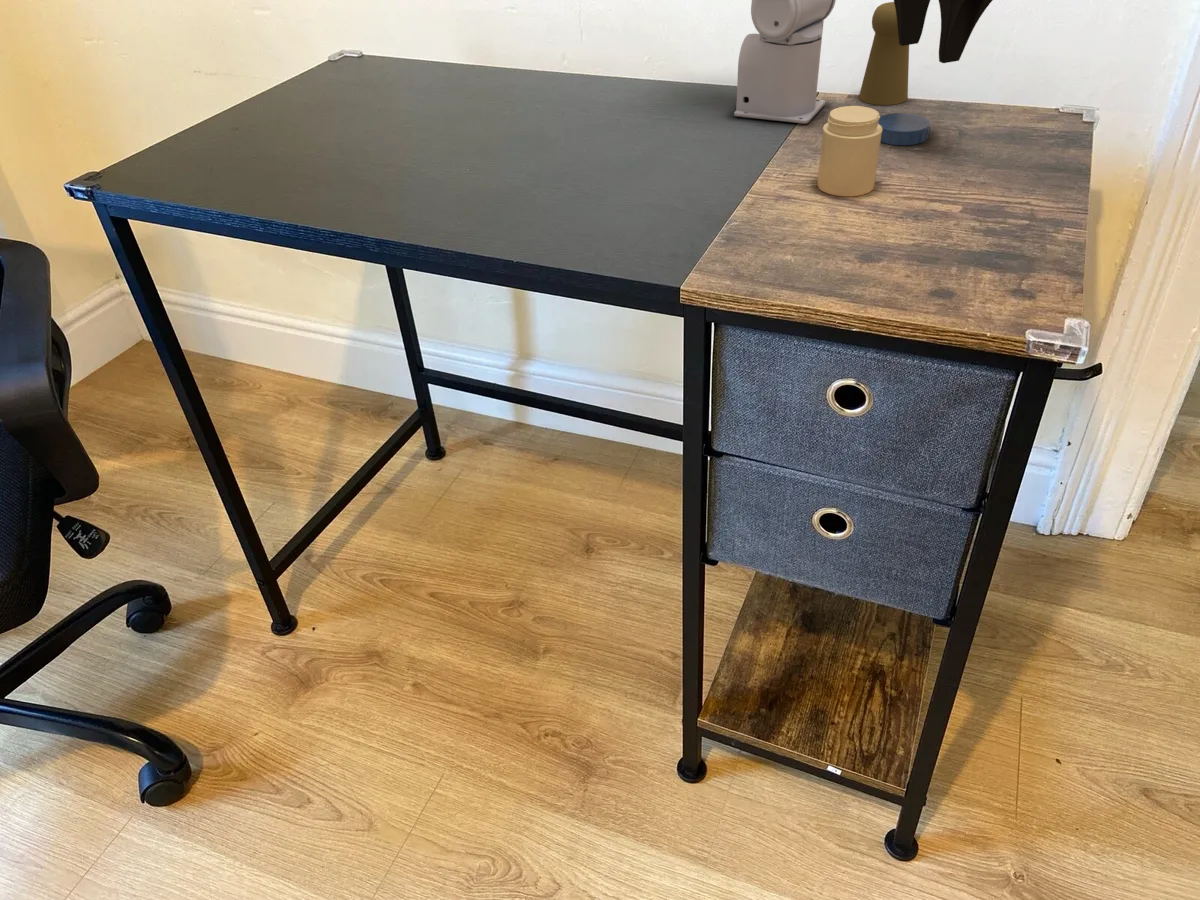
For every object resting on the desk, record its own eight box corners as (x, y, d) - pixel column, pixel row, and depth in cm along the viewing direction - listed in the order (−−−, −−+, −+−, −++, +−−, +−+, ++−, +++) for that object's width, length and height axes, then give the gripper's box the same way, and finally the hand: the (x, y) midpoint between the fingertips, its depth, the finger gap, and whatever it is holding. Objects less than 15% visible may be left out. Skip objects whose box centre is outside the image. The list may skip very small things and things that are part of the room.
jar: (811, 192, 91) (818, 120, 86) (824, 172, 95) (831, 102, 90) (867, 199, 89) (878, 126, 84) (879, 178, 93) (889, 106, 88)
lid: (939, 140, 100) (941, 126, 99) (891, 149, 99) (893, 134, 98) (908, 123, 105) (910, 109, 104) (862, 131, 103) (864, 118, 102)
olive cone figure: (909, 105, 110) (924, 9, 103) (859, 104, 111) (871, 10, 104) (906, 89, 114) (920, -3, 107) (858, 89, 115) (869, -3, 108)
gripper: (1036, -89, 82) (1002, 63, 91) (944, -105, 93) (922, 32, 102) (970, -80, 81) (943, 73, 90) (885, -98, 92) (868, 40, 100)
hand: (928, 52), depth 96 cm, fingers open, 7 cm apart
